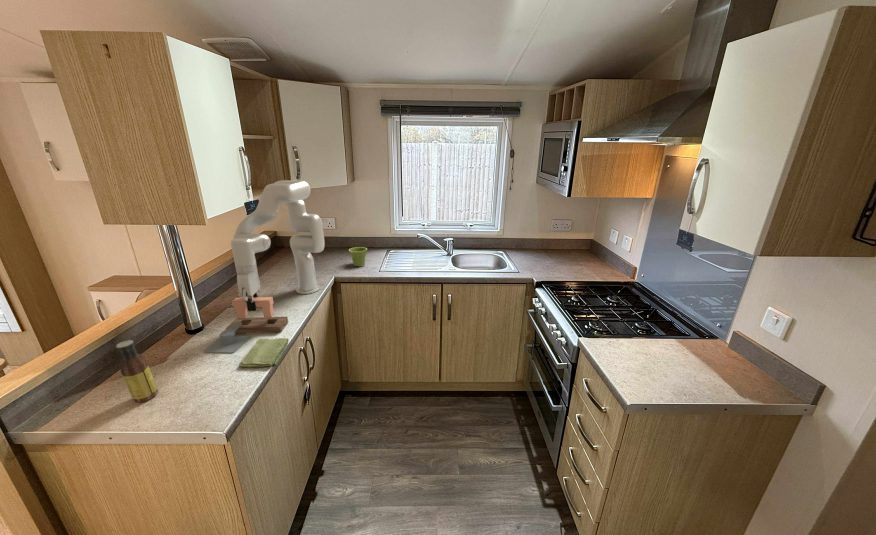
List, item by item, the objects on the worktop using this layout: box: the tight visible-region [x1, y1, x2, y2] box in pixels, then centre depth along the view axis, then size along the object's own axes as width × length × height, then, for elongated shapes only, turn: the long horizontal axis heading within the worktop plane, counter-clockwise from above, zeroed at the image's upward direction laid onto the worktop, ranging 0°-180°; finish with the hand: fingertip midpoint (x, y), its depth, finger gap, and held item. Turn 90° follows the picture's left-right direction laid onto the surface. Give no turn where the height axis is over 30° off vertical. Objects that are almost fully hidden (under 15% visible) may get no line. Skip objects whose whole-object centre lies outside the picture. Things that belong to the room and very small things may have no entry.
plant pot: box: [348, 246, 368, 267], centre depth 224 cm, size 12×12×11 cm
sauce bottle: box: [115, 339, 159, 403], centre depth 103 cm, size 7×6×20 cm
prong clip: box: [231, 296, 275, 318], centre depth 143 cm, size 4×15×8 cm, turn 94°
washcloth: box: [238, 337, 290, 369], centre depth 128 cm, size 13×18×3 cm
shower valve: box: [203, 323, 252, 354], centre depth 135 cm, size 12×6×15 cm
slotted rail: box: [225, 316, 289, 335], centre depth 146 cm, size 9×22×3 cm, turn 94°
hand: (254, 308), depth 143 cm, fingers closed on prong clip, 3 cm apart
